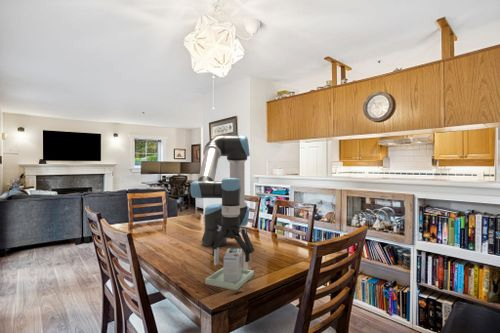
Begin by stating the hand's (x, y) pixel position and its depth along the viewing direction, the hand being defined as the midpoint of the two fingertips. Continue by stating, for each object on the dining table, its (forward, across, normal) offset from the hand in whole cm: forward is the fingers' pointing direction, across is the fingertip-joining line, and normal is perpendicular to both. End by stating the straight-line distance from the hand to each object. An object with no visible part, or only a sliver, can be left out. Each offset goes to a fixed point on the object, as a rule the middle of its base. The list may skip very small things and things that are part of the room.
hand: (230, 266), depth 114 cm
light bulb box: (+5, +1, +1) cm, 5 cm away
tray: (+5, 0, 0) cm, 5 cm away
